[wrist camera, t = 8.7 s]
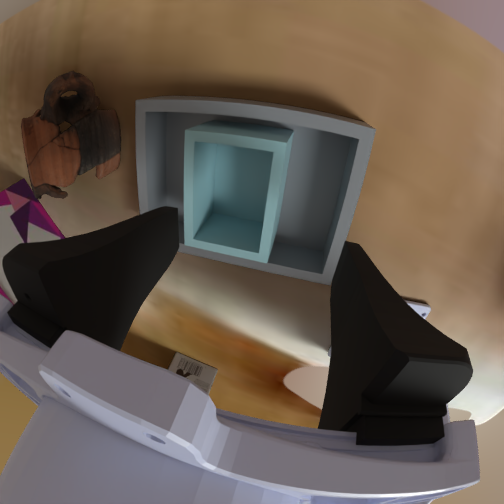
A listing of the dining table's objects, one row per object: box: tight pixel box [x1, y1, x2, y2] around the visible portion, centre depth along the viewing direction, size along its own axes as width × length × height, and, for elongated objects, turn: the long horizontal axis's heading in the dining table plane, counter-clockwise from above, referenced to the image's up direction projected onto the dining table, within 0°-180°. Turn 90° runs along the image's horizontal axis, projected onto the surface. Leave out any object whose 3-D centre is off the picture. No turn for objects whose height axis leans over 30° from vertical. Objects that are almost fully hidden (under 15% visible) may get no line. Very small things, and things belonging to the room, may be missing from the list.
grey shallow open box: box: [135, 96, 376, 285], centre depth 18 cm, size 11×14×4 cm
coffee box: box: [167, 352, 217, 395], centre depth 31 cm, size 9×6×16 cm
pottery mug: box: [21, 71, 121, 199], centre depth 18 cm, size 12×10×8 cm
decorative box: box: [0, 179, 65, 305], centre depth 26 cm, size 19×19×15 cm
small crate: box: [184, 120, 294, 263], centre depth 17 cm, size 8×6×4 cm
